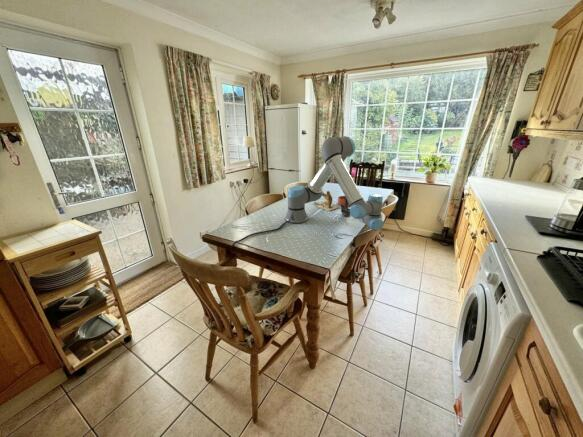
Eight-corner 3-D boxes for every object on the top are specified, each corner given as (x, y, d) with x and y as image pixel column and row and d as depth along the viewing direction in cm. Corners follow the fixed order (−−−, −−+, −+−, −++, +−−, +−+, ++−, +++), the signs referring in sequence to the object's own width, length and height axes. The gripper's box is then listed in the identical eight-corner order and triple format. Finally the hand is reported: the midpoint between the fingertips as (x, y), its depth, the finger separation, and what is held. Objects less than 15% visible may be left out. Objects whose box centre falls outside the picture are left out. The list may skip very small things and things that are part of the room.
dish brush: (350, 216, 170) (351, 195, 164) (344, 217, 169) (345, 195, 163) (347, 213, 175) (348, 193, 170) (341, 214, 175) (342, 193, 169)
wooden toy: (338, 208, 187) (339, 191, 182) (329, 211, 181) (330, 194, 176) (319, 202, 204) (320, 186, 199) (310, 204, 198) (311, 188, 193)
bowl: (343, 207, 189) (344, 201, 187) (334, 203, 200) (334, 196, 198) (357, 205, 194) (357, 198, 192) (347, 201, 205) (347, 194, 203)
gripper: (345, 223, 142) (333, 211, 161) (383, 219, 146) (367, 209, 165) (346, 211, 139) (333, 201, 159) (384, 208, 143) (368, 198, 163)
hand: (350, 205), depth 162 cm, fingers open, 13 cm apart
